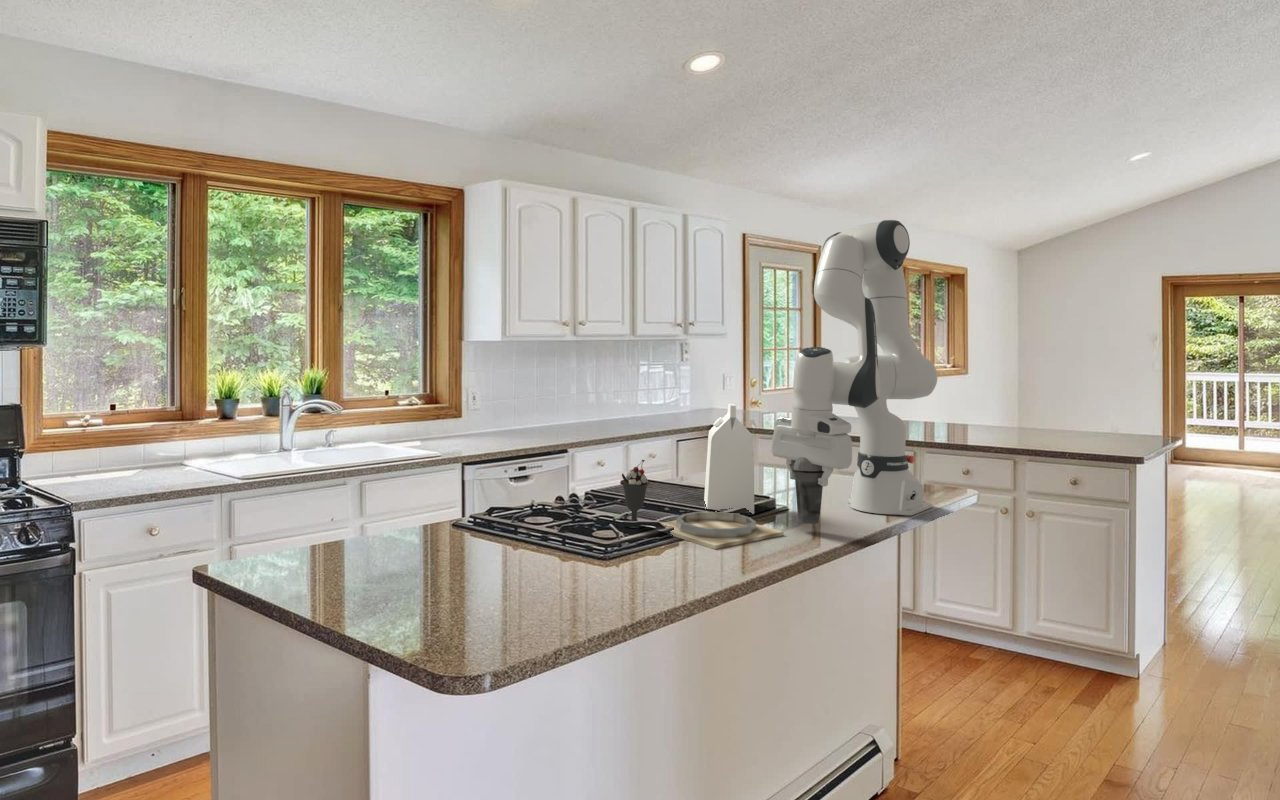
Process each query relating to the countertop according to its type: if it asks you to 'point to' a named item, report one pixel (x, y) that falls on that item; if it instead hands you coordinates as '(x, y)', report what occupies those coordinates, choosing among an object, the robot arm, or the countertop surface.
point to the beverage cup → (808, 490)
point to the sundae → (634, 490)
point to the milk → (730, 464)
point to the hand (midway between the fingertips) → (808, 482)
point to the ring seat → (719, 529)
